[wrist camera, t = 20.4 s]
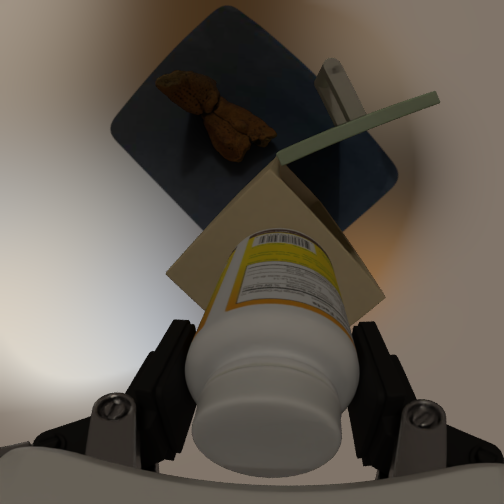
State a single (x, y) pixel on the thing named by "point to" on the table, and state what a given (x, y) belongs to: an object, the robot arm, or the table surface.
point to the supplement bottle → (272, 359)
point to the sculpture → (216, 113)
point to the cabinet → (267, 217)
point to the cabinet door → (347, 112)
